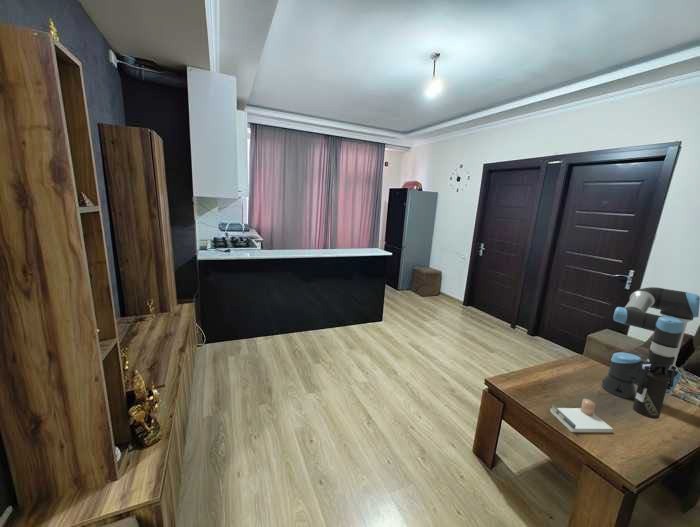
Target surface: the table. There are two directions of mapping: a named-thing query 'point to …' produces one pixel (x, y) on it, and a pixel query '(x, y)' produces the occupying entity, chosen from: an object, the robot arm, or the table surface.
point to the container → (653, 396)
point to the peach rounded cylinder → (588, 407)
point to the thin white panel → (579, 420)
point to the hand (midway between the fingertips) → (648, 400)
